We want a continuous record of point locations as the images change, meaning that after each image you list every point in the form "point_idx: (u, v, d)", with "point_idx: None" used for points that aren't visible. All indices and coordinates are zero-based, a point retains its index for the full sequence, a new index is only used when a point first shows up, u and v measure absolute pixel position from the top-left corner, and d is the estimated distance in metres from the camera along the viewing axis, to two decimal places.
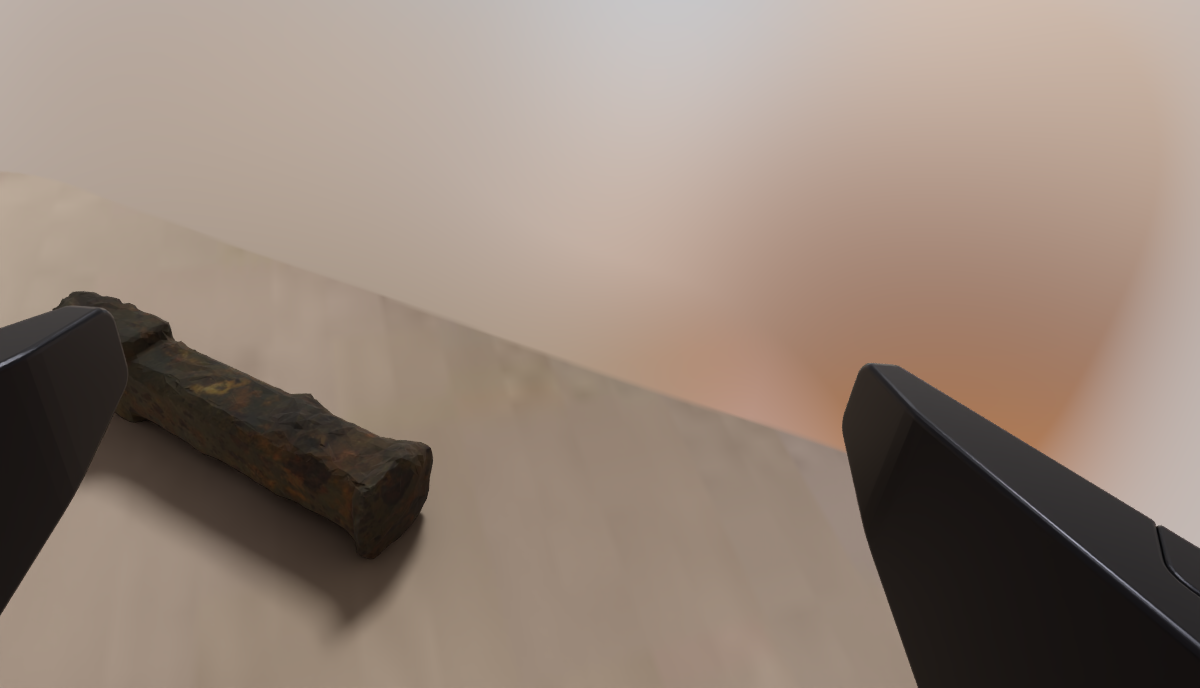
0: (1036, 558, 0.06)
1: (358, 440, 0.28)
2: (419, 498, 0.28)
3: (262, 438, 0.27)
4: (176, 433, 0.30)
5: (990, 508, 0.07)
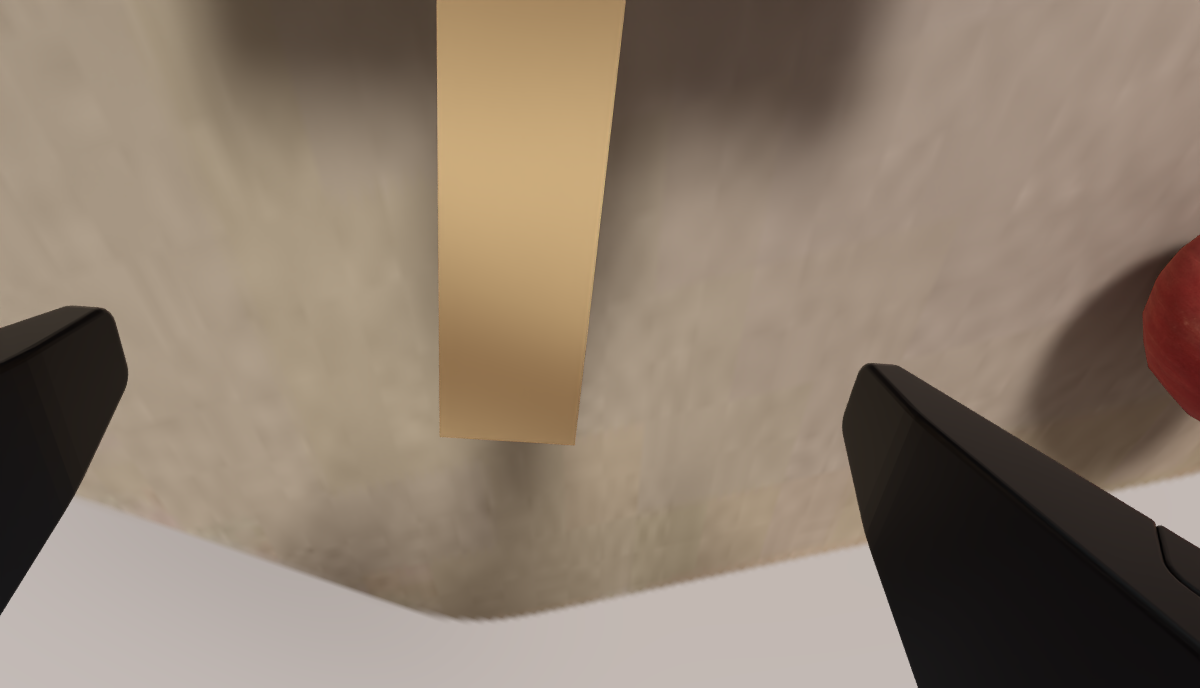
0: (1036, 558, 0.06)
1: None
2: None
3: None
4: None
5: (990, 508, 0.07)
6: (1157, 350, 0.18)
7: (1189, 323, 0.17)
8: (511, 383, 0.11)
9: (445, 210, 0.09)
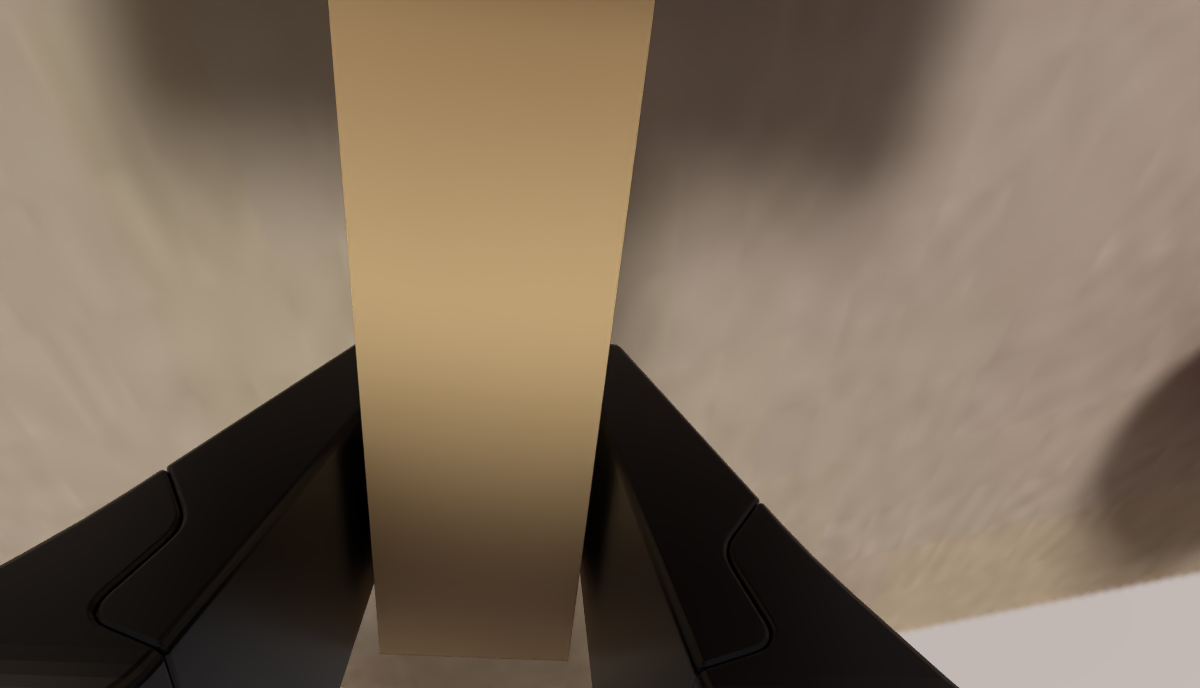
0: (627, 537, 0.06)
1: None
2: None
3: None
4: None
5: (611, 486, 0.07)
6: None
7: None
8: (478, 592, 0.08)
9: (369, 379, 0.06)
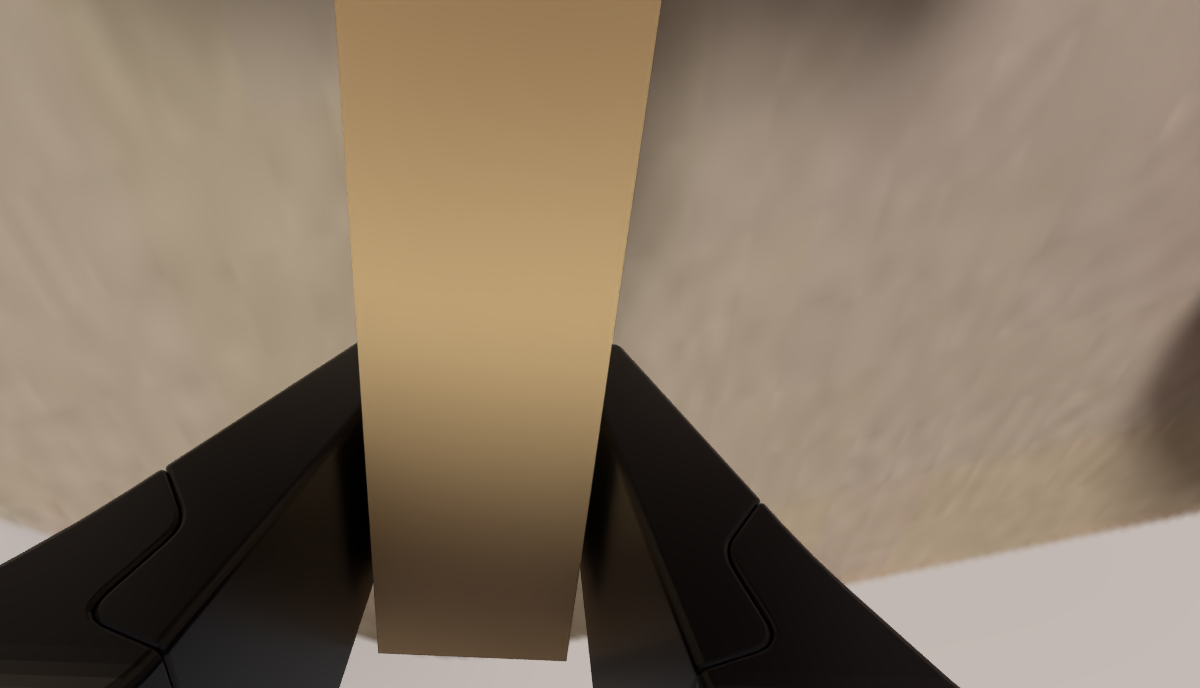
0: (628, 537, 0.06)
1: None
2: None
3: None
4: None
5: (612, 486, 0.07)
6: None
7: None
8: (477, 591, 0.08)
9: (371, 377, 0.06)
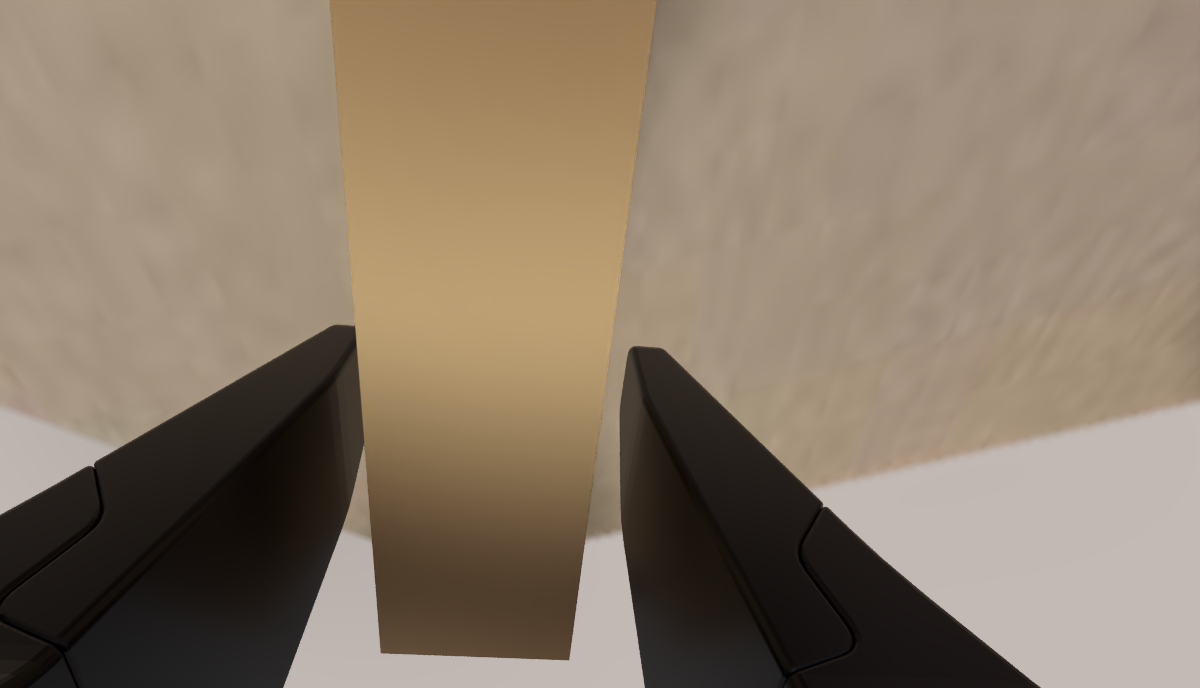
0: (693, 540, 0.06)
1: None
2: None
3: None
4: None
5: (672, 490, 0.07)
6: None
7: None
8: (479, 590, 0.08)
9: (370, 377, 0.06)
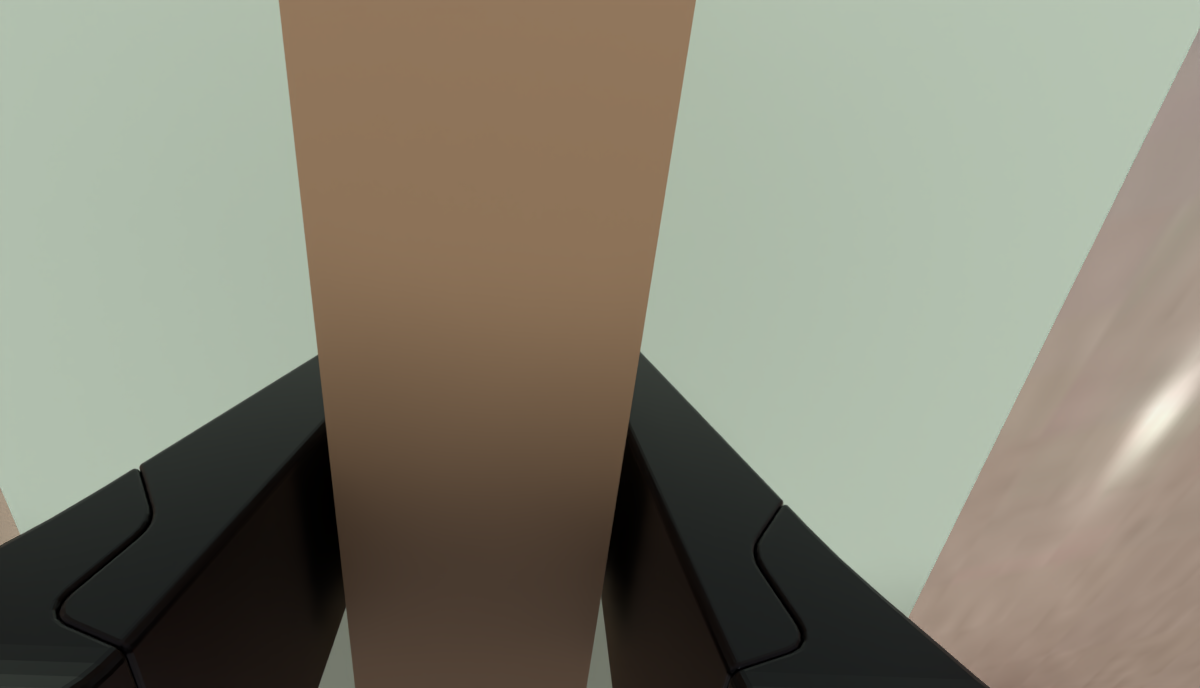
0: (652, 538, 0.06)
1: None
2: None
3: None
4: None
5: (634, 488, 0.07)
6: None
7: None
8: None
9: None
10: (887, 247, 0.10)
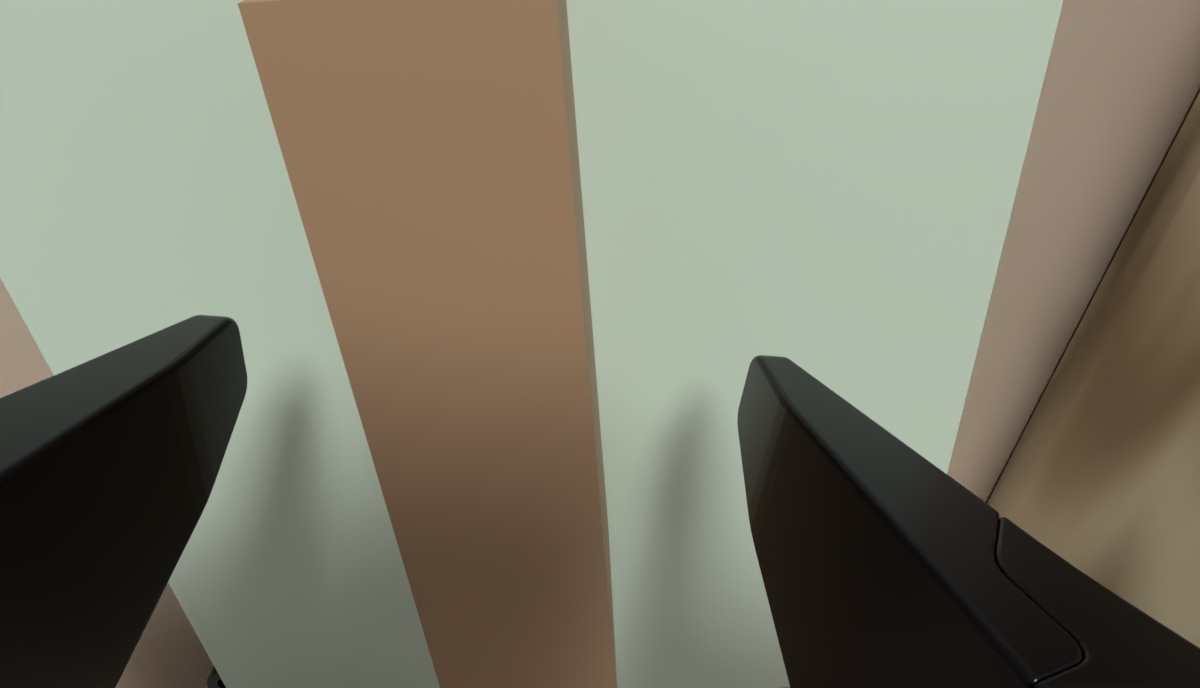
0: (876, 550, 0.06)
1: None
2: None
3: None
4: None
5: (841, 499, 0.07)
6: None
7: None
8: None
9: None
10: (833, 190, 0.11)
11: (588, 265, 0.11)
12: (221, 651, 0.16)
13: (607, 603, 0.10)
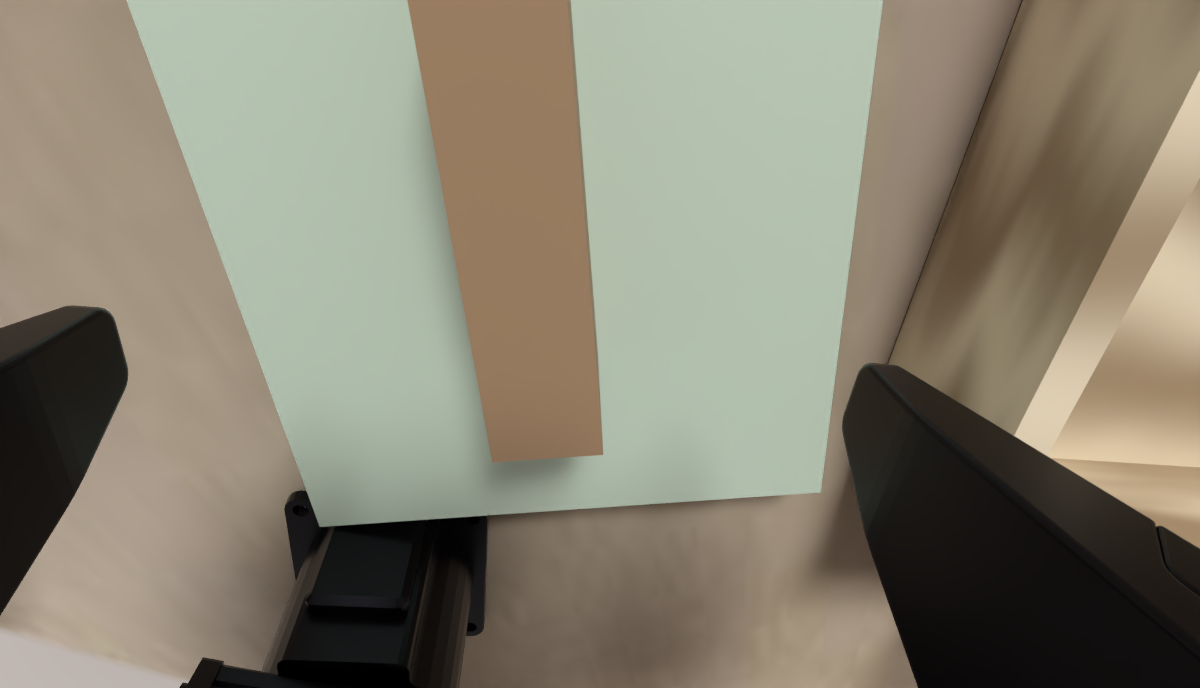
0: (1036, 558, 0.06)
1: None
2: None
3: None
4: None
5: (990, 508, 0.07)
6: None
7: None
8: None
9: None
10: (747, 86, 0.16)
11: (582, 141, 0.17)
12: (306, 459, 0.21)
13: (593, 343, 0.15)
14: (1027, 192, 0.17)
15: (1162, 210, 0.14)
